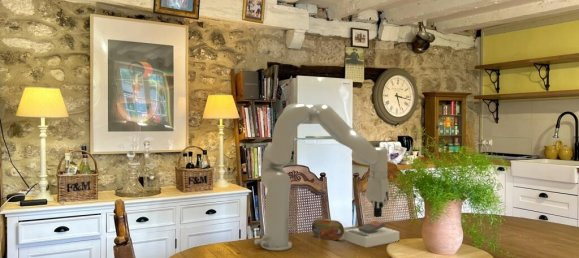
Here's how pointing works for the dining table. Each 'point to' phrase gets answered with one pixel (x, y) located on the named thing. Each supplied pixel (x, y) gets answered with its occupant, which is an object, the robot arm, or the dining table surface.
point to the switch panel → (371, 237)
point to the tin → (327, 229)
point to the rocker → (371, 227)
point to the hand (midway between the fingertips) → (377, 216)
